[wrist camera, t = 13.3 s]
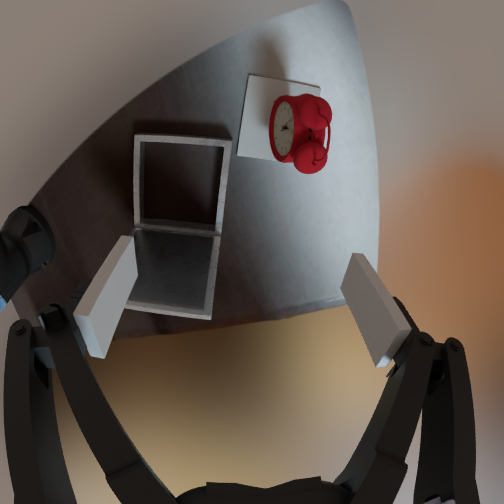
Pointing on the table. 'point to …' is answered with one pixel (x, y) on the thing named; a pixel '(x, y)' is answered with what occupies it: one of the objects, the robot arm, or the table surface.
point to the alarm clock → (300, 131)
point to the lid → (174, 273)
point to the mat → (264, 113)
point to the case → (139, 184)
